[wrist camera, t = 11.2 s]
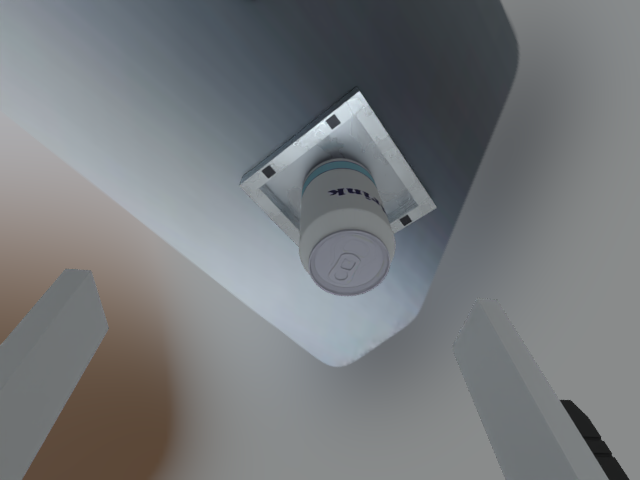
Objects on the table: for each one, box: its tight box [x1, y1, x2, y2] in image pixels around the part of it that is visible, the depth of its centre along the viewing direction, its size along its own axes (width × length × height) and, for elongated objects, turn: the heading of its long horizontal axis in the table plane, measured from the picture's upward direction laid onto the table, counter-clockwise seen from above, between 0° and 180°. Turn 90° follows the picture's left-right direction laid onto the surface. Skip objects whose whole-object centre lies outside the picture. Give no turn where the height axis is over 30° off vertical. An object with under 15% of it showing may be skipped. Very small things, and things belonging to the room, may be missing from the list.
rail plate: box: [239, 86, 437, 247], centre depth 34 cm, size 13×13×2 cm
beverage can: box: [299, 158, 395, 296], centre depth 29 cm, size 7×7×12 cm
